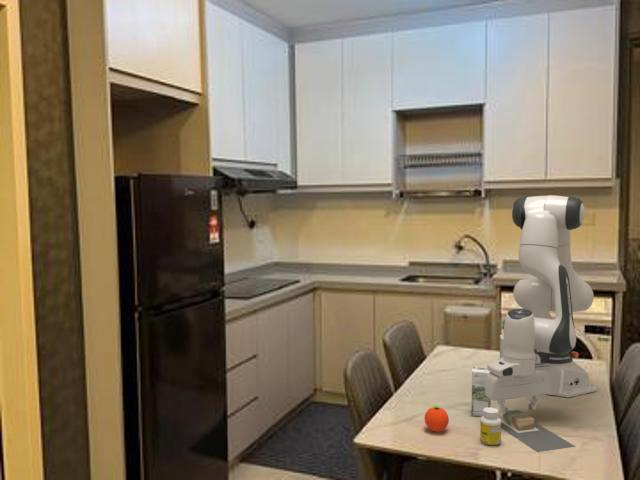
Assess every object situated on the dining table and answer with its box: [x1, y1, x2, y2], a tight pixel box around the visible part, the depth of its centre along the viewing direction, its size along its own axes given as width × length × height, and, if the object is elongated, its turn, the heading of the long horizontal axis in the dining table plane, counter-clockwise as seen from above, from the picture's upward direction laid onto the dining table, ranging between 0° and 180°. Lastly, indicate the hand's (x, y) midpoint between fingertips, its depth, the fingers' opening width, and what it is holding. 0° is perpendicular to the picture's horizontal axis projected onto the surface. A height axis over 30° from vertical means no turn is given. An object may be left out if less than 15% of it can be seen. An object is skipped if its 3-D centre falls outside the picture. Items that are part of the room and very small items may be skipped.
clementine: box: [424, 405, 450, 433], centre depth 167 cm, size 8×7×7 cm
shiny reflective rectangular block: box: [502, 408, 535, 431], centre depth 169 cm, size 8×5×3 cm, turn 16°
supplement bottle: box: [479, 407, 502, 448], centre depth 157 cm, size 5×5×10 cm
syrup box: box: [470, 366, 492, 418], centre depth 179 cm, size 6×6×14 cm
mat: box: [500, 418, 576, 453], centre depth 163 cm, size 12×22×1 cm, turn 16°
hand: (518, 411), depth 169 cm, fingers open, 8 cm apart
